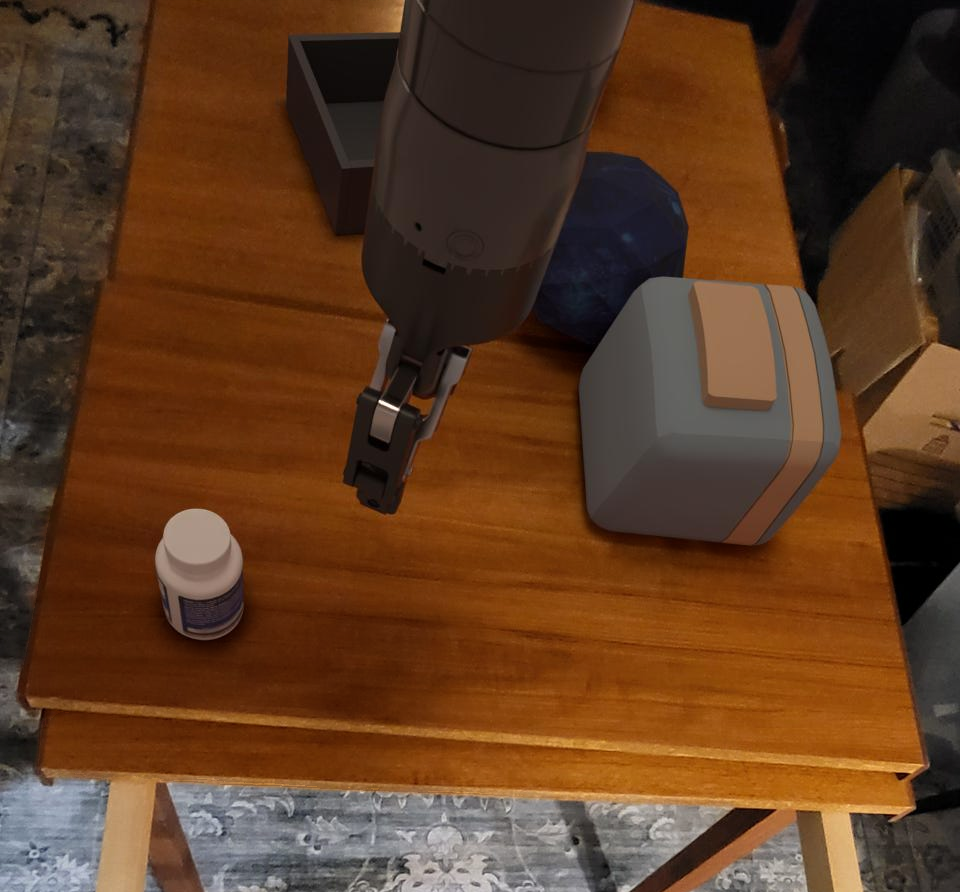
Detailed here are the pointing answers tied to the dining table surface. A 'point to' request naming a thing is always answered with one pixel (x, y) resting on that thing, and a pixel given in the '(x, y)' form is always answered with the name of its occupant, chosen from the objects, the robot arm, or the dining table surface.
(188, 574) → the pill bottle
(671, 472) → the grey rounded cube box
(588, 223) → the decorative orb
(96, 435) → the dining table surface
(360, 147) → the bin
